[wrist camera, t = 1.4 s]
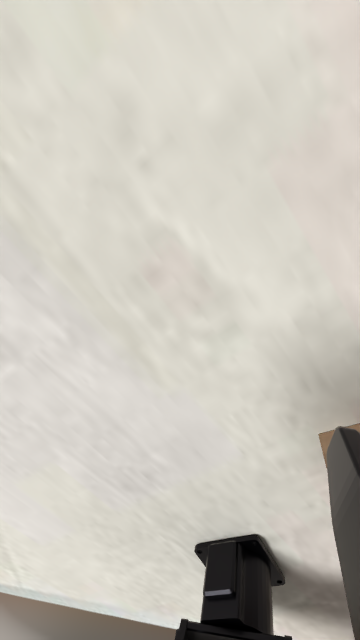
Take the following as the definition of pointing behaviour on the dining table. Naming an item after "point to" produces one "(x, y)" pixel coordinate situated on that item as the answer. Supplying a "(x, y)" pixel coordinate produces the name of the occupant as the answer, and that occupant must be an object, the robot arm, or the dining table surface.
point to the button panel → (326, 439)
